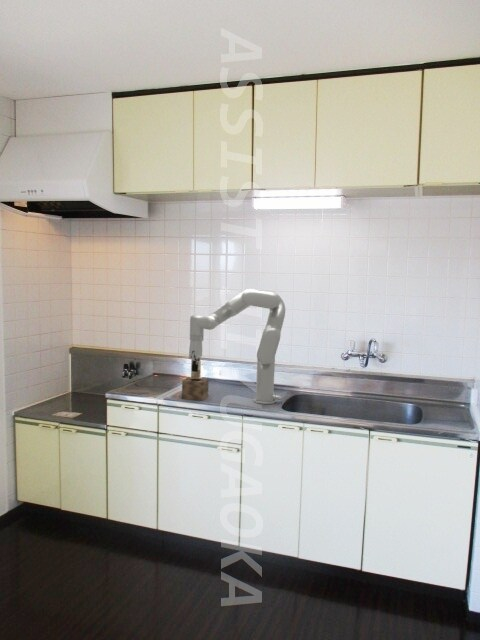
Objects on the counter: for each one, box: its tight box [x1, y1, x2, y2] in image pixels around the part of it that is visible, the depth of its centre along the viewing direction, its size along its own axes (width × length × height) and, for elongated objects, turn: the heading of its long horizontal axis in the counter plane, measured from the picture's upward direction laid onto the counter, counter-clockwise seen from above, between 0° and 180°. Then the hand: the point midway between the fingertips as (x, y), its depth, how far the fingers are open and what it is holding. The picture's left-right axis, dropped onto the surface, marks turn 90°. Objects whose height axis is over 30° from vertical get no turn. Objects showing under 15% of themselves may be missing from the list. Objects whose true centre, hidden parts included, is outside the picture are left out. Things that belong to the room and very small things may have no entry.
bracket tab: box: [190, 360, 202, 378], centre depth 285 cm, size 4×3×9 cm
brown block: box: [181, 376, 210, 401], centre depth 286 cm, size 12×10×10 cm
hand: (195, 370), depth 285 cm, fingers closed on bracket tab, 3 cm apart
